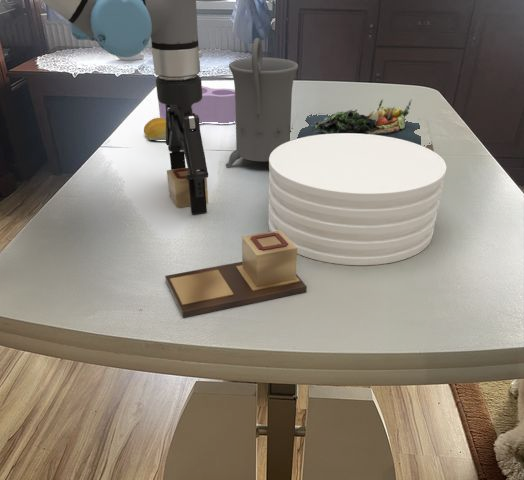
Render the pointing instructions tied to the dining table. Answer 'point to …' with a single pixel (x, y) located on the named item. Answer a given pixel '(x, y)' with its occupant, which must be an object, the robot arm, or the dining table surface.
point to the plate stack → (355, 197)
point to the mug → (261, 104)
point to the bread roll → (156, 129)
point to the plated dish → (365, 124)
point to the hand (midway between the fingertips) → (189, 198)
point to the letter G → (181, 187)
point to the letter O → (269, 258)
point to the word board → (223, 289)
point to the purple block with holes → (212, 106)
